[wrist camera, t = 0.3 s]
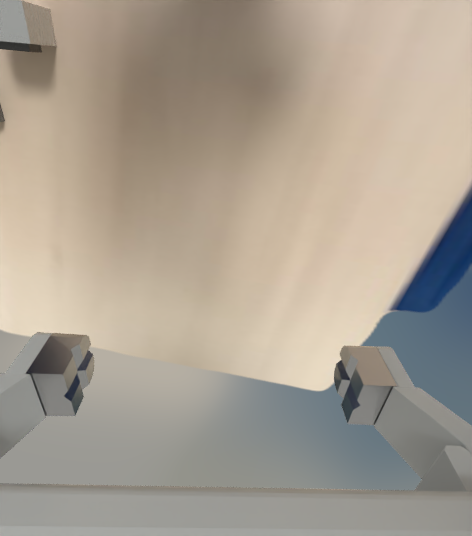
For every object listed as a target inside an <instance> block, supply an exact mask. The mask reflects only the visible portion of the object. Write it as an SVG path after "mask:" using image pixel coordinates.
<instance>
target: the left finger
mask: <svg viewBox="0 0 472 536" xmlns="http://www.w3.org/2000/svg"><path fill="white" fill-rule="evenodd" d="M41 45H46V46H56V40H55V34H54V28H53V22H52V16H51V10H50V9H47V8H44V7H41V6H38V5H34V4H31V3H28V2H25V1H21V0H0V49H6V50H17V51H28V52H42V50H41Z"/></svg>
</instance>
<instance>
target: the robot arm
mask: <svg viewBox="0 0 472 536" xmlns="http://www.w3.org/2000/svg"><path fill="white" fill-rule="evenodd" d="M90 345H91V343H90V339H89V336H87V335H76V334H61V333H41V332H37V333H36V334H34V335H33V336H32V337H31V339H30V340H29V341H28V343H27V344H26V345H25V347H24V348H23V350H22V351H21V352H20V354H19V355H18V356H17V358H16V359H15V361H14V362H13V363H12V365H11V366H10V367H9V369H8V370H7V372H6V373H0V458H1V457H3V456H4V455H5V454H6V453H7V452H8V451H9V450H10V449H11V448H12V447H14V446H15V445H16V444H17V443H18V442H19V441H20V440H21V439H23V438H24V437H25V436H26V435H27V434H28V433H29V432H30V431H31V430H33V429H34V428H35V427H36V426H37V425H38V424H39V423H40V422H41V421H43V420H44V419H45V418H46V416H75V415H76V413H77V410H78V408H79V406H80V404H81V402H82V399H83V397H84V396H83V392H82V389H84V388H85V387H86V386H88V385H89V383H90V381H91V378H92V375H93V371H94V357H93V354H92V353H91V352H90V351H88V349H89V347H90ZM340 356H341V359H342V360H341V361H339V362H338V363H337V364H336V367H335V371H334V382H335V386H336V390H337V393H338V394H339V395H340V396H341V397H343V398H344V399H343V402H342V404H341V405H342V408H343V411H344V414H345V417H346V420H347V423H348V424H362V425H375V426H374V427H375V428H376V429H377V430H378V431H379V432H380V434H381V435H382V436H383V437H384V438H385V439H386V440H387V441H388V442H389V443H390V445H391V446H392V447H393V448H394V449H395V450H396V451H397V452H398V453H399V454H400V456H401V457H402V458H403V459H404V460H405V461H406V462H407V463H408V464H409V465H410V466H411V467H412V469H413V470H414V471H415V472H416V473H417V474H418V475H419V476H420V477H421V479H422V480H421V482H420V483H419V485H418V486H417V487H416V489H415V490H414V491H408V490H352V489H295V488H240V487H239V488H237V487H179V486H175V487H174V486H120V485H119V486H118V485H65V484H9V483H0V536H472V426H471V425H469V424H468V423H467V422H465V421H464V420H463V419H461V418H460V417H458V416H457V415H456V414H454V413H453V412H452V411H450V410H449V409H448V408H446V407H445V406H444V405H442V404H441V403H440V402H438V401H437V400H436V399H434V398H433V397H431V396H430V395H428V394H427V393H426V392H425V391H423V390H422V389H421V388H415V387H414V385H413V383H412V381H411V380H410V378H409V376H408V375H407V373H406V371H405V369H404V368H403V366H402V364H401V363H400V361H399V359H398V357H397V356H396V354H395V352H394V351H393V349H392V348H390V347H371V346H343V348H342V349H341V352H340Z"/></svg>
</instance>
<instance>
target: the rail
mask: <svg viewBox="0 0 472 536" xmlns="http://www.w3.org/2000/svg"><path fill="white" fill-rule="evenodd" d="M2 121H5V120H4V116H3V112H2V109H1V105H0V122H2Z"/></svg>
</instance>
